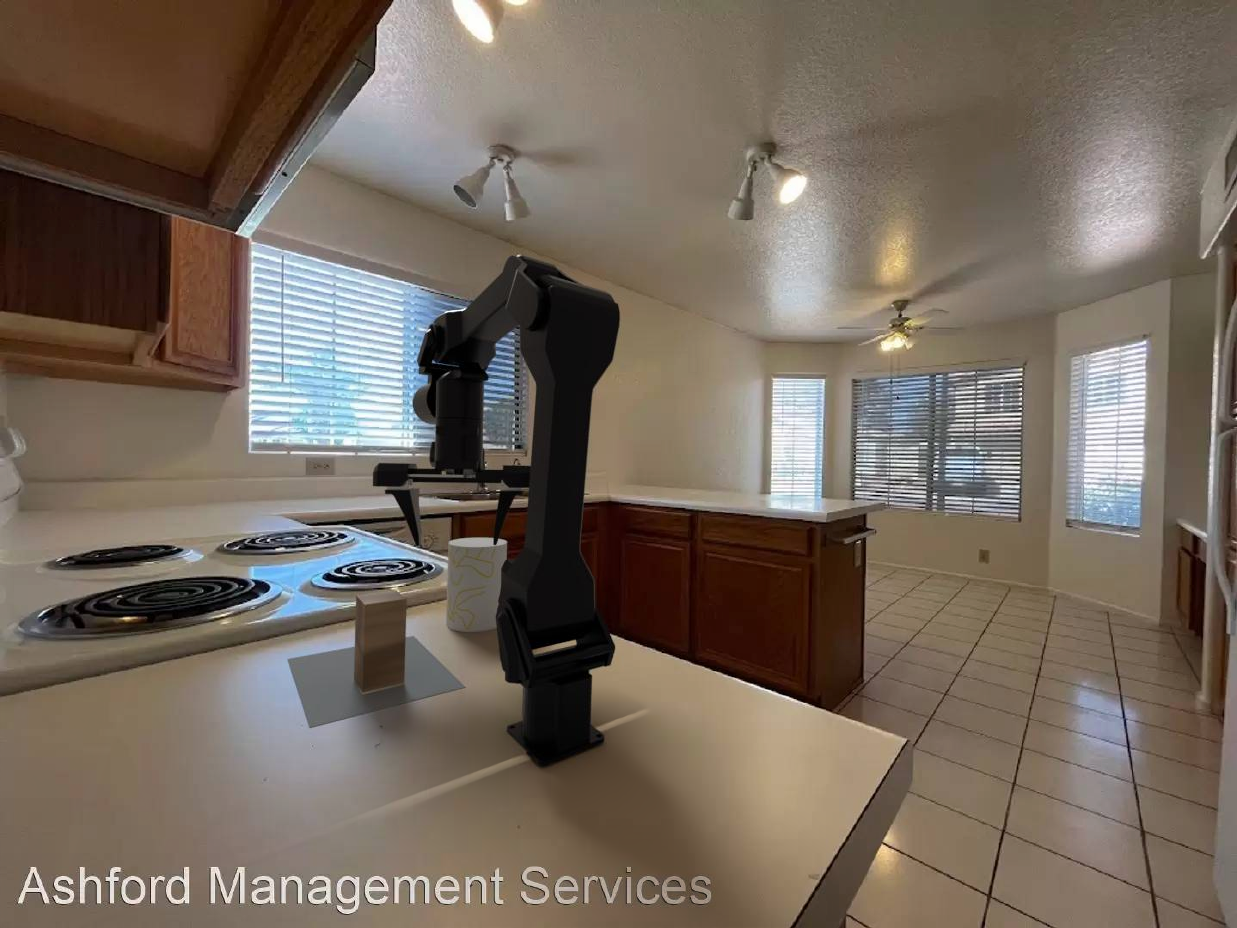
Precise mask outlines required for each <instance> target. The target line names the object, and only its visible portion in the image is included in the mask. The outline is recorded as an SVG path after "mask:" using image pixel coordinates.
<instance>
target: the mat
mask: <svg viewBox="0 0 1237 928" xmlns="http://www.w3.org/2000/svg"><path fill="white" fill-rule="evenodd" d="M354 656H355V646H351V647H346V648H341V649H336V650H330V651H324V652H319V653H313V654H307V655H301V656H297V657H291V658H287V663H288V665H289V669H290V670H291V674H292V679H293V681H294V684H295V687H296V690H297V694H298V695H299V699H300V703H301V705H302V708H303V711H304V716H305V718H306V721H307V724H308V727H309V728H308V729H312V728H315V727H319V726H322V725H327V724H330V723H331V724H332V723H334V722H335V723H336V722H338V721H341V720H346V719H349V718H353V717H357V716H361V715H362V716H363V715H365V714H369V713H372V712H377V711H380V710H383V709H388V708H391V707H392V708H393V707H396V706H399V705H404V704H407V703H410V702H415V701H419V700H422V699H426V698H430V697H434V696H438V695H442V694H445V693H449V692H453V691H457V690H460V689H465V688H466V686H465V684H463V683H462V682H461V681H460V679H458V678H457V677H456V676H455V675H454V674H453V673H452V672H451V671H450V670H449V669H448V668H447V667H446V666H445V665H444V664H443V663H442V662H441V661H440V660H439V659H438V658H437V657H436V656H434V654H433V653H432V652H431V651H429V649H427V647H425V646H424V644H423V643H421V642H420V640H418V639H417V638H416V636H414V635H409V636H406V643H405V678H404V685H401V686H397V687H392V688H388V689H384V690H380V691H376V692H372V693H367V694H363V695H362V693H361V692H360V690H359V688H358V686H357V685H356V683H355V681H354Z"/></svg>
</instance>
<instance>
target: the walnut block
mask: <svg viewBox="0 0 1237 928" xmlns="http://www.w3.org/2000/svg"><path fill="white" fill-rule="evenodd" d="M407 601H408V599H407V598H406V597H405V596H404V594H402V593H401V592H399V591H398V590H396V589H395V590H386V591H379V592H372V593H364V594H357V595H355V619H354V620H355V623H354V625H355V629H354V647H355V656H354V681H355V683H356V685H357V686H358V688H359V690H360V692H361V693H362V695H363V694H367V693H372V692H376V691H380V690H384V689H388V688H392V687H397V686H401V685H404V678H405V643H406V637H407V636H406V635H407V632H406V631H407V604H408V603H407Z"/></svg>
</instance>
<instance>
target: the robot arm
mask: <svg viewBox="0 0 1237 928" xmlns="http://www.w3.org/2000/svg"><path fill="white" fill-rule="evenodd" d="M620 323H621V311H620V307H619V304H618V302H616V301H615V299H614V297H613V296H612V295H611V294H610V293H609V292H607V291H605V290H602V289H599V288H596V287H591V286H588V285H585V284H582V283H581V282H579V281H577V280H576V279H574V278H572V277H570V276H569V275H567V274H566V273H565V272H563V271H562V270H561V269H559V268H557V267H556V266H555V264H553V263H549V262H546V261H542V260H539V259H535V258H533V257H529V256H526V255H523V254H517V255H510V256H509V257H508V258H507V259H506V261H505V264H504V266H503V269H502V272H501V273H500V274H499V275H498V276H497V277H496V278H495V279H494V280H493V281H492V282H491V283H490V284H489V285H488V286H487V287H486V288H485V289H483V291H482V292H481V293H479V295H477V297H476V298H475V299H474V300H473V301H471V302H470V303H469V305H468V306H467V307H465V308H464V309H457V310H448V311H444V312H443V313H442V314H439V316H437V317H436V318H435V319H434V321H433V322H432V323H430V324H429V325H428V329H427V331H425V332H424V336H423V339H422V342H421V345H420V349H419V352H418V356H417V359H416V363H417V366H418V370H417V371H418V374H419V375H422V376H423V375H424V376H427V383H426V384H424V385H422V386H420V387H419V388H418V389H417V390H416V392H415V393H414V396H413V398H412V401H411V402H412V408H413V411H414V413H415V415H416V417H417V418H418V419H419V420H420V421H422V422H423V423H426V424H429V425H435V431H434V432H435V433H434V434H435V437H434V441H431V443H430V444H431V445H430V448H429V449H430V450H429V458H428V459H429V464H430V465H431V466H430V467H432V468H423V467H422V468H421V467H420V468H418V466H417V463H408V462H407V463H403V462H402V463H399V462H395V463H394V462H393V463H392V462H390V463H389V462H378V464H377V465H375V466H374V468H373V472H372V487H386V489H384V495H392V496H393V498H394V499H395V501H396V503H397V505H398V507H399V508H400V510H401V512H402V513H403V517H404V518H405V521H406V523H407V526H408V528H409V531H410V533H411V537H412V539H413V541H414V544H415V546H416V547H420V546H421V545H422V544H421V543H422V524H421V523H422V522H421V513H420V511H421V510H420V487H415V485H416V483H436V484H437V483H441V484H442V483H444V484H445V483H448V484H449V483H452V484H453V483H454V484H501V487H502V488H501V489H500V490H499V495H498V499H497V500H498V502H497V507H496V514H495V521H494V529H493V534H492V536H493V537H492V538H493V545H497V542H498V539H500V537H501V536H500V535H501V532H502V530H503V527H504V524H505V520H506V517H507V515H508V513H509V511H510V508H511V506H512V504H513V502H514V500H515V498H516V496H524V495H525V490H524V489H528V495H527V496H528V498H527V509H526V511H527V512H526V523H525V524H526V527H525V536H524V538H525V539H524V546H523V547H522V549H521V550H520V552H519V553H518V555H517V556H516V558H510V559H509V558H507V559H506V560H505V562H504V564H503V566H502V568H501V590H500V595H499V599H498V603H499V605H498V608H497V614H496V626H497V628H496V632H497V641H498V651H499V659H500V663H501V670H502V671H503V672H504V681H506V683H508V684H516V685H518V684H519V685H520V686H522V707H521V708H522V709H521V717H522V719H521V720H520V721H517V722H514V723H512V724H509V725H507V726H506V732H507V734H509V735H510V737H512V739H514V740H515V741H516V742H517V744H518V745H520V746H521V747H522V749H524V750H525V752H526V754H527V756H529V757H530V758H531V760H533V761H534V762H535V763H536V764H537V765H538V766H541V767H545V766H548V765H551V764H553V763H556V762H559V761H561V760H563V759H566V758H568V757H570V756H571V757H572V756H573V755H576V754H578V753H581V752H583V751H586V750H588V749H591V748H594V747H596V746H598V745H601V744H603V743H604V742H605V739H606V738H605V736H606V735H605V734H604V733H603V732H602V731H600V730H599V729H598V728H596V727H595V726H593V724H591V723H592V722H591V721H592V698H593V697H592V696H593V695H592V694H593V693H592V692H593V675H592V674H591V673H590V671H591V670H595V669H599V668H603V667H604V668H605V667H606V668H607V667H609V666H611V665H612V661H613V658H614V655H615V652H616V645H615V642H614V640H613V638H612V634H610V631H609V629H608V627H607V624H606V622H605V620H604V618H603V616H602V613H601V611H600V609H599V606H598V605H597V603H596V593H595V591H596V590H595V586H596V585H595V582H596V581H595V578H594V576H593V574H592V572H591V570H590V567H589V565H588V564H587V562H586V560H585V558H584V556H583V554H582V552H581V541H582V539H581V538H582V527H583V514H584V505H585V503H584V502H585V493H586V492H585V490H586V479H587V478H586V477H587V476H586V475H587V465H588V453H589V444H590V443H589V440H590V439H589V438H590V429H591V418H592V417H591V416H592V415H591V414H592V404H593V393H594V389H595V387H596V385H597V384H598V383H599V381H600V380H601V378H602V377H603V375H604V374H605V373H606V372H607V370H608V368H609V367H610V365H611V364H612V363H613V360H614V356H615V350H616V346H617V341H618V336H619V335H618V334H619V330H620V327H621V326H620ZM517 327H519V344H520V345H519V349H520V350H519V351H520V353H521V356H522V358H523V359H524V362H525V364H526V366H527V368H528V370H529V373H530V374H531V376H532V378H533V381H534V382H535V399H534V400H535V401H534V414H533V415H534V416H533V427H532V441H531V457H530V465H513V464H512V465H509V464H508V465H507V464H502V469H487V468H485V465H486V464H485V459H486V457H485V456H486V452H485V449H484V448H485V447H484V413H485V412H484V410H485V409H484V405H485V401H484V400H485V397H484V396H485V382H488V381H489V380H490V379H489V378H490V376H489V374H488V372H487V369H488V368H489V367H490V366H489V365H490V364H491V363H492V360H494V359H495V357H496V356H497V345H496V344H497V343H498V342H499V341H501V340H502V339H503V338H504V337H506V336H507V335H508V334H509V333H511V332H512V331H513V330H515V329H516V328H517ZM443 472H445V474H442V473H443ZM574 641H575V643H576V644H572V645H569V646H565V647H561V648H557V649H553V650H549V651H545V652H540V653H537V654H535V653H534V652H533V651H534V650H538V649H543V648H546V647H551V646H554V645H555V646H556V645H559V644H563V643H567V642H574Z"/></svg>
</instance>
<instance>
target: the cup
mask: <svg viewBox="0 0 1237 928" xmlns="http://www.w3.org/2000/svg"><path fill="white" fill-rule="evenodd" d="M447 549H448V551H447V553H448V554H447V581H446V582H447V583H446V615H445V616H446V618H445V625H446V627H447V628H448V629H450V630H453V631H457V632H463V633H474V632H475V633H478V632H485V631H486V632H487V631H490V630H495V629H497V626H496V614H497V608H498V605H499V603H498V599H499V595H500V590H501V568H502V566H503V564H504V562H505V560H507V559H508V558H507V556H508V555H507V552H508V541H507V540H505V539H501V538H499V539H498V542H497V545H493V537H464V538H457V539H452V540H450V541H448V548H447Z"/></svg>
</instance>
